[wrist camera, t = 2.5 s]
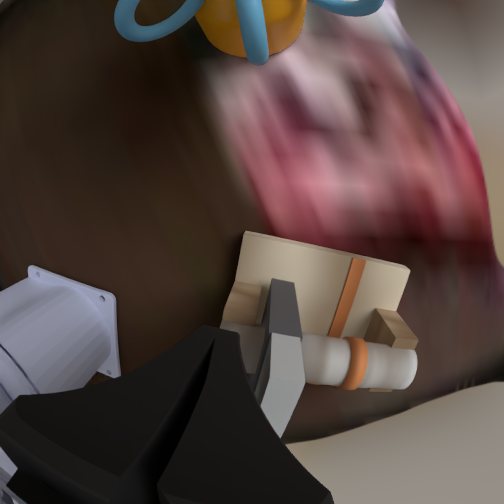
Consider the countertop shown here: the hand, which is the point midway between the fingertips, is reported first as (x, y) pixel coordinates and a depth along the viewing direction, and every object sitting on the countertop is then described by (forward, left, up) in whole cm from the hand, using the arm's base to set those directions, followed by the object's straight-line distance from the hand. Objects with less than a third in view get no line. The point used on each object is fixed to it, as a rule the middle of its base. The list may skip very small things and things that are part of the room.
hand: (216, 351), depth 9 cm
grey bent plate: (+2, -2, -6) cm, 6 cm away
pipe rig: (+5, -2, -8) cm, 9 cm away
